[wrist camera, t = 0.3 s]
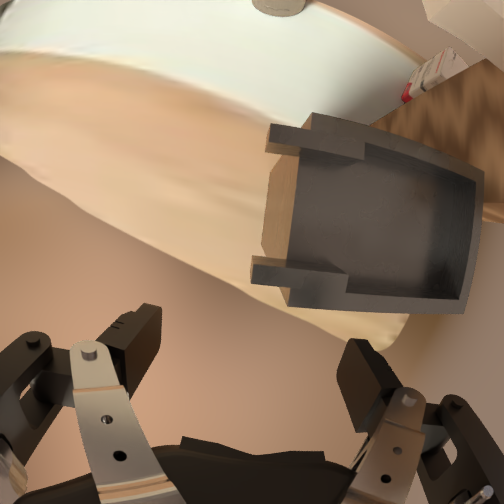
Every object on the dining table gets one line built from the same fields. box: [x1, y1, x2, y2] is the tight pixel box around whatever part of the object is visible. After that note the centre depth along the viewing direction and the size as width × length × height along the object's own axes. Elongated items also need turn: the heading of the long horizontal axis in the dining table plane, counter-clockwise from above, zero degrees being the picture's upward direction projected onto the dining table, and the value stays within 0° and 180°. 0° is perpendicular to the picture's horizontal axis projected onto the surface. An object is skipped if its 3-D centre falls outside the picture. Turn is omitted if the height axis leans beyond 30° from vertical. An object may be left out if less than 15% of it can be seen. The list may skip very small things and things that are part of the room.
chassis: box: [250, 112, 485, 314], centre depth 26 cm, size 10×15×25 cm, turn 83°
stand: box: [370, 58, 504, 223], centre depth 21 cm, size 12×11×33 cm
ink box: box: [401, 46, 469, 103], centre depth 29 cm, size 8×5×12 cm, turn 149°
